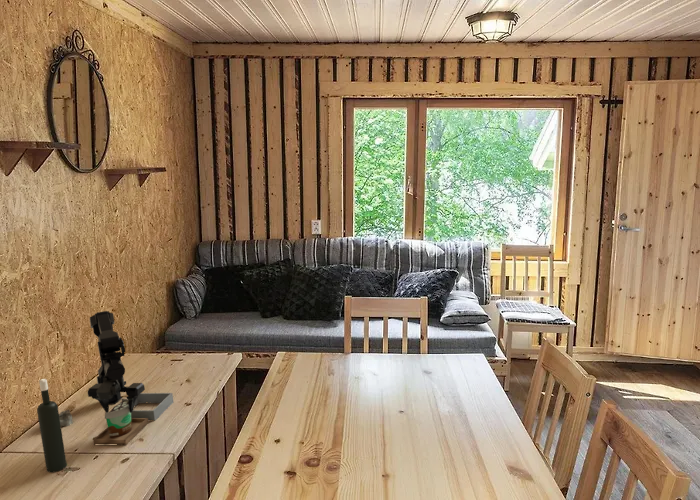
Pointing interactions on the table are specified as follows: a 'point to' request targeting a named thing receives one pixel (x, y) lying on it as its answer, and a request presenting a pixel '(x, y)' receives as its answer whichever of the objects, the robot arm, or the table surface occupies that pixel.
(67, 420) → the egg carton
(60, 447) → the wine bottle
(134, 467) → the table surface
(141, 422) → the tray
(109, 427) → the food container
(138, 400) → the tub
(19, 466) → the table surface
